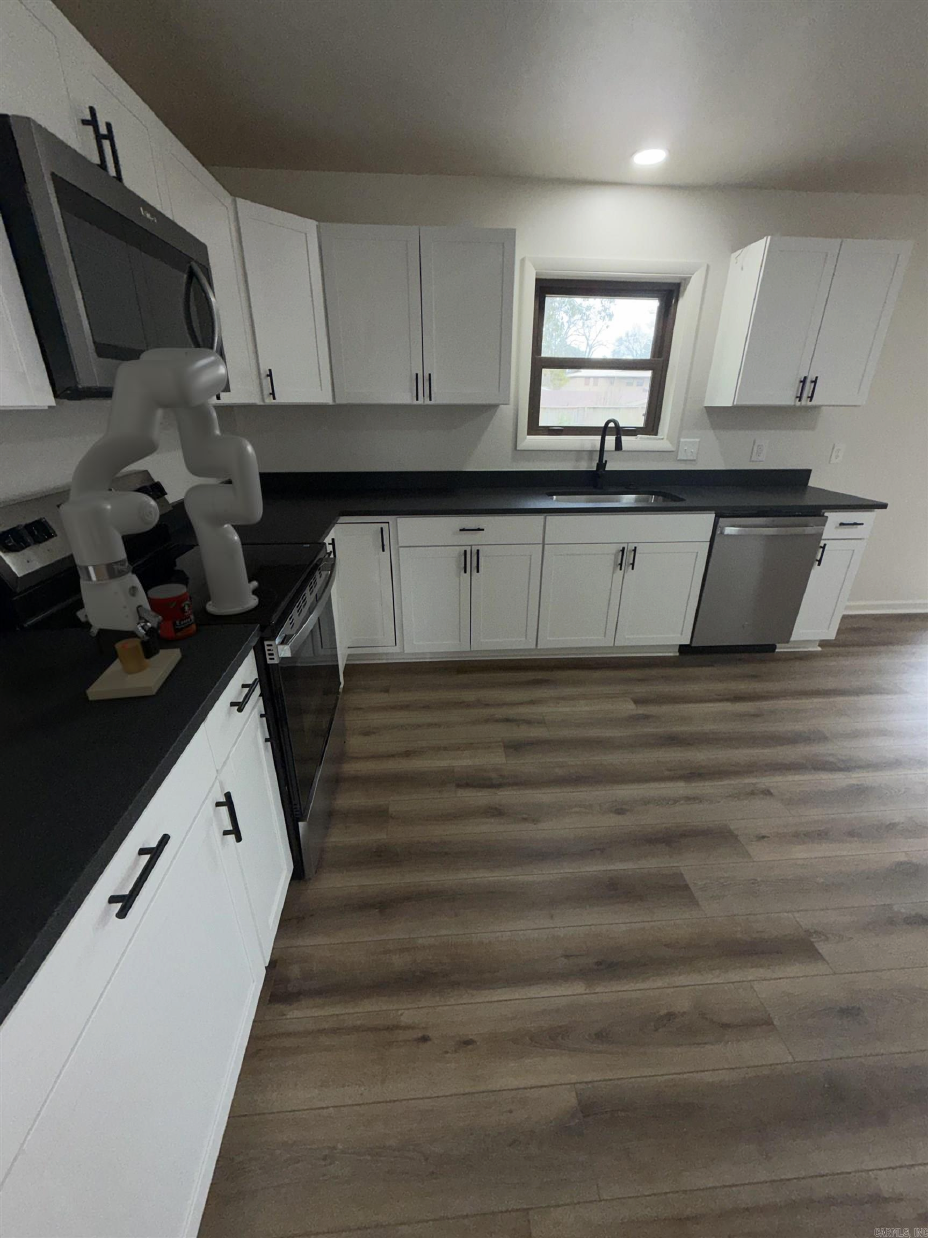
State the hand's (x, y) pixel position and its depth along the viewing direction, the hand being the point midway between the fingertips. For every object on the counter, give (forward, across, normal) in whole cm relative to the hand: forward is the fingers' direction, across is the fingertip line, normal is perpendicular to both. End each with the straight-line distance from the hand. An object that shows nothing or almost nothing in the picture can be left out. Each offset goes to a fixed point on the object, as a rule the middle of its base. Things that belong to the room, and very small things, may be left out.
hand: (130, 654), depth 96 cm
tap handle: (+3, 0, 0) cm, 3 cm away
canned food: (+5, +6, -19) cm, 21 cm away
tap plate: (+5, 0, 0) cm, 5 cm away
